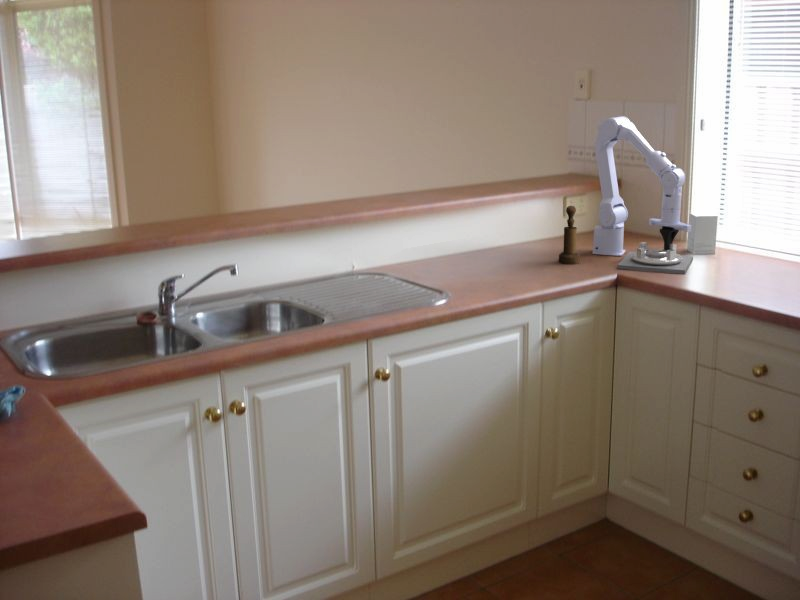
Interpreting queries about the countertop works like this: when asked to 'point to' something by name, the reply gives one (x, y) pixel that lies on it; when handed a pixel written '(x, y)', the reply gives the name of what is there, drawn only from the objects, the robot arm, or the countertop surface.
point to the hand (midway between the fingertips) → (668, 250)
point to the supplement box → (702, 233)
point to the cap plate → (675, 268)
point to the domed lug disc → (656, 255)
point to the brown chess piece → (570, 240)
